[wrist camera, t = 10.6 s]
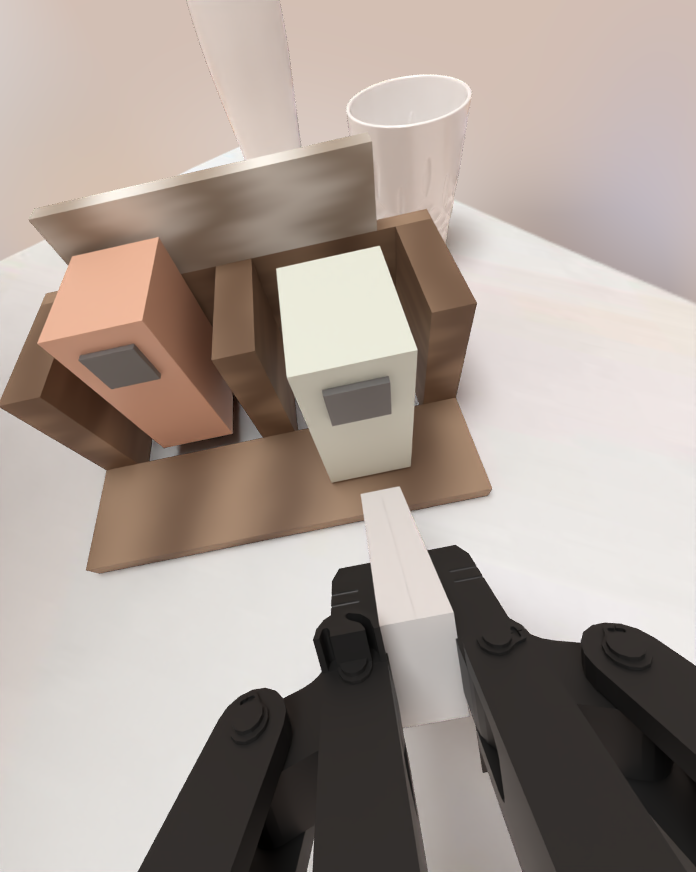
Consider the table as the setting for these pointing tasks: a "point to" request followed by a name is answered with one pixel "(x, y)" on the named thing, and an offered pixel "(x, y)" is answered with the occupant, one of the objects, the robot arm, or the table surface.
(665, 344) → the table surface
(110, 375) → the peach rectangular block
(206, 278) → the wooden rack
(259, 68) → the drinking glass
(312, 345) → the cream rectangular block
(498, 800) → the robot arm
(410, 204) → the white cup
